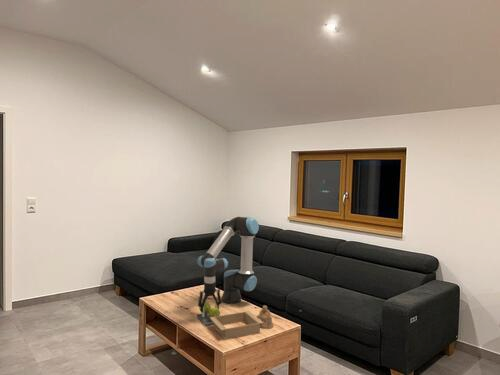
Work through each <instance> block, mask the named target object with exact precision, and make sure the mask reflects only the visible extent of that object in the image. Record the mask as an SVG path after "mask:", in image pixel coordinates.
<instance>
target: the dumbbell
mask: <svg viewBox="0 0 500 375" xmlns="http://www.w3.org/2000/svg"><path fill="white" fill-rule="evenodd" d="M203 307H204V314H206V313H209V316H210V317H216V316H221V310H220V308H219V309H218V308H215V307H211V305H210V303H209V302H205V304H204V306H203ZM198 310H199V311H200V314H202V312H201V307H199V309H198Z"/></svg>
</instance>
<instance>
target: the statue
mask: <svg viewBox="0 0 500 375" xmlns="http://www.w3.org/2000/svg"><path fill="white" fill-rule="evenodd" d="M256 317H257V318H258V319H260V320H261V321H262V322H263V323H261V324H260V329H265V330H269V329H273V328H274V327H275V326H274V322H273V319H272V318H273V317H272V314H271V312H270V310H269V309H268V306H267V305H265V304H264V305H262V309H261V310H260V311H259V314H258V315H256Z"/></svg>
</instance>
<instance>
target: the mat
mask: <svg viewBox="0 0 500 375" xmlns="http://www.w3.org/2000/svg"><path fill="white" fill-rule="evenodd" d="M196 318H198V319H199V320H200V322H201V323H202V324H203V325H204V327H210V326H212V327H213V321H212V320H211V319H210V316H209V313H206V314H204V317H202V313H197V314H196Z"/></svg>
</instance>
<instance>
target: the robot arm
mask: <svg viewBox="0 0 500 375" xmlns="http://www.w3.org/2000/svg"><path fill="white" fill-rule="evenodd" d="M259 230H260V226H259V222H258V221H257V219H256V218H253V217H249V216H248V217H247V216H236V217H234V218H231V219H230V220H229V221H228V222H226V224H225V225H224V226H223V228H222V231H221V233H220V234H219V235H218V237H216V239H215V240H214V242H213V243H212V244H211V246H210V248H209V249H207V251H206V252H205V254H204V255H200V256H199V257H198V258H197V265H198V267H202V268H203V273H204V274H203V275H204V276H203V280H204V283H203V290H200V291H199V298H198V302H197V306H198V307H199V308H200V307H201V311H200V313H201V312H202V313H201V314H202V317H204V307H203V306H204V304H205V302H206V301H207V299H208V297H212V298H213V300H214V302H215V304H214V305H215V306H214V308H218V309H219V310H220V305H222V303H225V304H238V303H241V301H242V295H241V291H240V290H242V291H246V292H252V291H254V289H255V288H256V286H257V283H258V278H257V276H256V275H255V272H254V270H253V252H254V251H253V248H254V246H253V245H254V238H255V237H256V234H257V233H258V231H259ZM236 233H239V236H240V238H241V245H240V246H241V248H240V270H239V269H228V270H226V271H224V273H223V292H222V295H221V294H220V293H221V289H219V288H217V289H216V275H217V274H216V272H220V271H223V270H225V269H227V268H228V267H229V261H228V260H227V258H225V257H221V258H217V257H218V255H219V254H220V253H221V251H222V250H223V248H224V247H225V246H226V244H227V243H228V241H229V240H230V239H231V237H232V236H235V234H236ZM215 293H216V295H217V296H216V295H215Z"/></svg>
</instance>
